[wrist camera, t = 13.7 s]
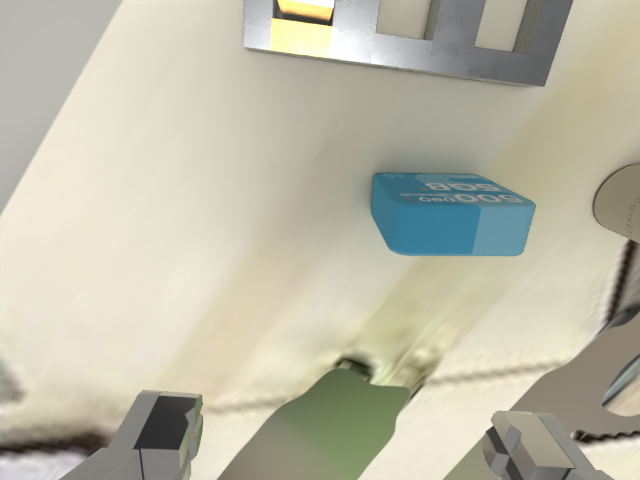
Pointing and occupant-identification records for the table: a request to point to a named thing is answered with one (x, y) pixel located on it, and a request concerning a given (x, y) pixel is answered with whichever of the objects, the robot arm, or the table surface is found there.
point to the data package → (449, 215)
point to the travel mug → (620, 203)
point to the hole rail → (416, 40)
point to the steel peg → (307, 11)
